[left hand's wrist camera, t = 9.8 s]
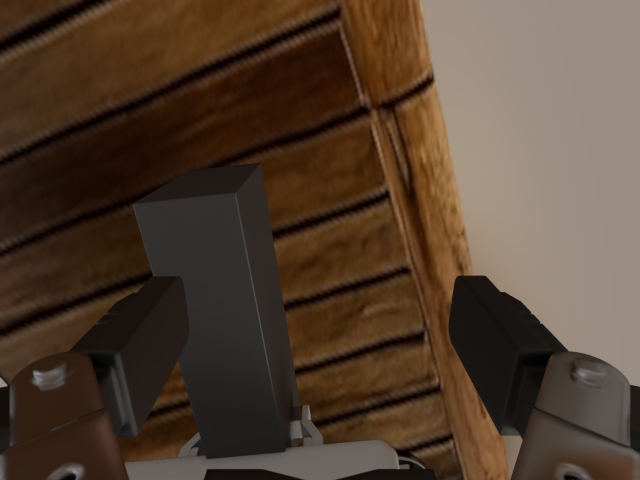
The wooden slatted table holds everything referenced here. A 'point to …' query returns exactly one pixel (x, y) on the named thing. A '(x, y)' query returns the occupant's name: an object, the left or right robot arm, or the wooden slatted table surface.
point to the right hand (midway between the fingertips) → (260, 415)
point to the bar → (226, 306)
